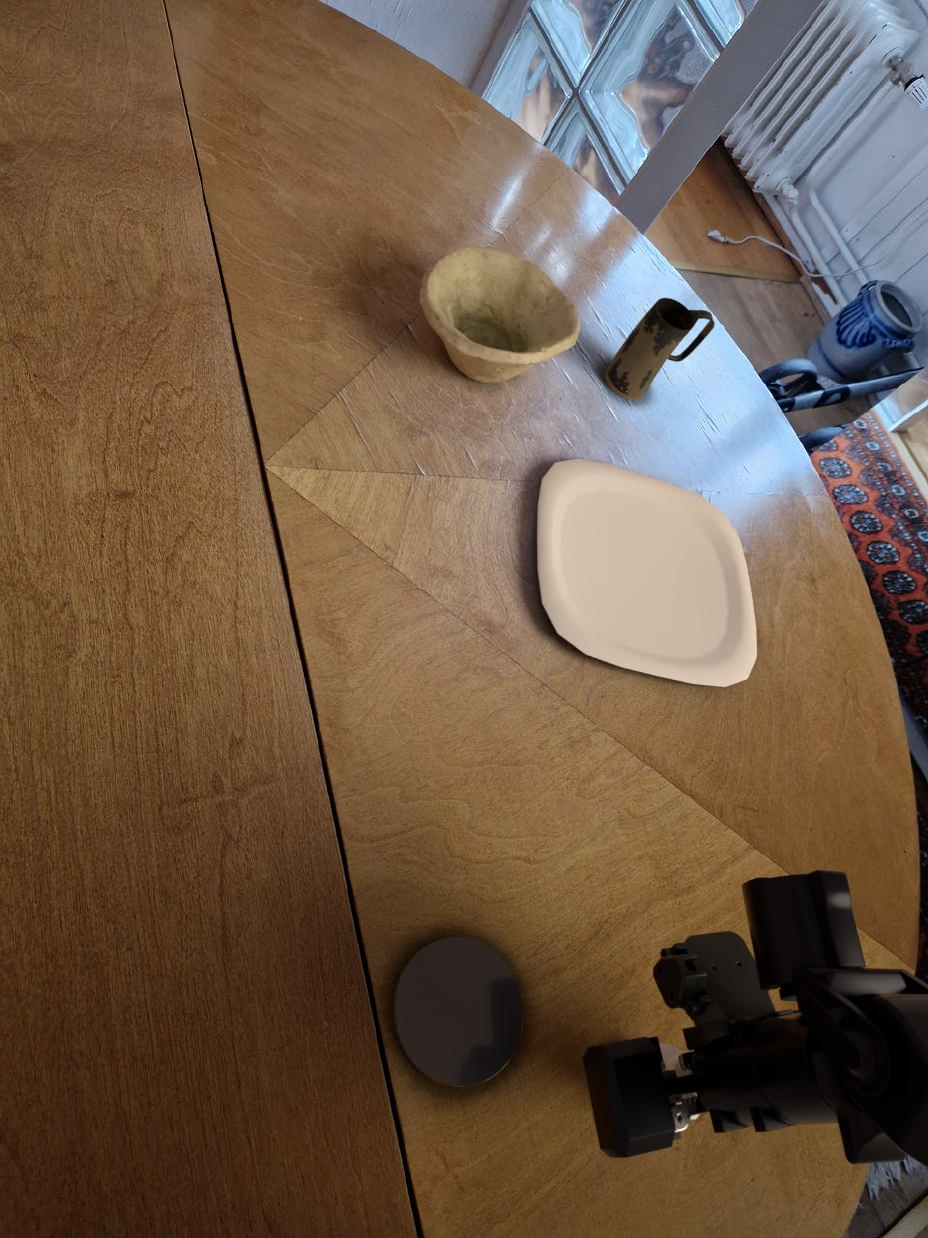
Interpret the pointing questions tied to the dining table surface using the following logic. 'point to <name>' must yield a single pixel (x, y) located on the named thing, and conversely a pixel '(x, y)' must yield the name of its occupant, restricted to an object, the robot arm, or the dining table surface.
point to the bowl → (496, 312)
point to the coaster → (458, 1012)
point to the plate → (644, 575)
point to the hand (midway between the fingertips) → (654, 1084)
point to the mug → (654, 346)
